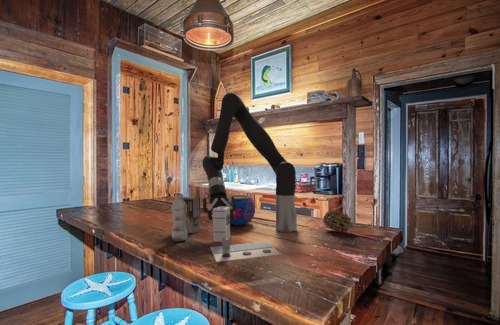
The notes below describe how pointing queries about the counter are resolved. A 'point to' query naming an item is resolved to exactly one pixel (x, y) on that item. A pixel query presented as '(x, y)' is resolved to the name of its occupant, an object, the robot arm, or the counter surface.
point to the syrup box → (221, 223)
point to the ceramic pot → (242, 209)
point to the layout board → (245, 251)
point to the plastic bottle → (179, 218)
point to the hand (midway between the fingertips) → (221, 219)
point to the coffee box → (192, 214)
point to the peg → (226, 247)
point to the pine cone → (340, 221)
